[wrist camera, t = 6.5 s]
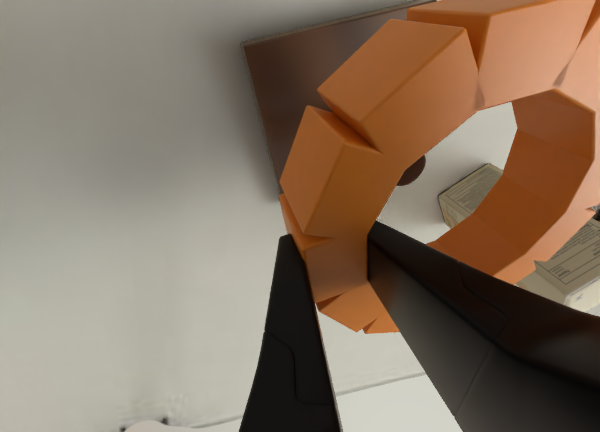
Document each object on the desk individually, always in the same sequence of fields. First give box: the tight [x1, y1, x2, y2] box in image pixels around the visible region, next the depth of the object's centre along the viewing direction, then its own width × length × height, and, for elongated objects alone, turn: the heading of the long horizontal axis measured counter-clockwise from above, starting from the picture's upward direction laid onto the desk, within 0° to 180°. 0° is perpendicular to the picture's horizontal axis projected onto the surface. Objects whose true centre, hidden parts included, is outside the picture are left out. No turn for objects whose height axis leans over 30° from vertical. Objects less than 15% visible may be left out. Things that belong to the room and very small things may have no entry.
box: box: [439, 164, 600, 312], centre depth 21 cm, size 5×4×11 cm
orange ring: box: [279, 0, 600, 334], centre depth 10 cm, size 11×11×3 cm
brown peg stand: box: [241, 0, 437, 195], centre depth 15 cm, size 10×10×7 cm
